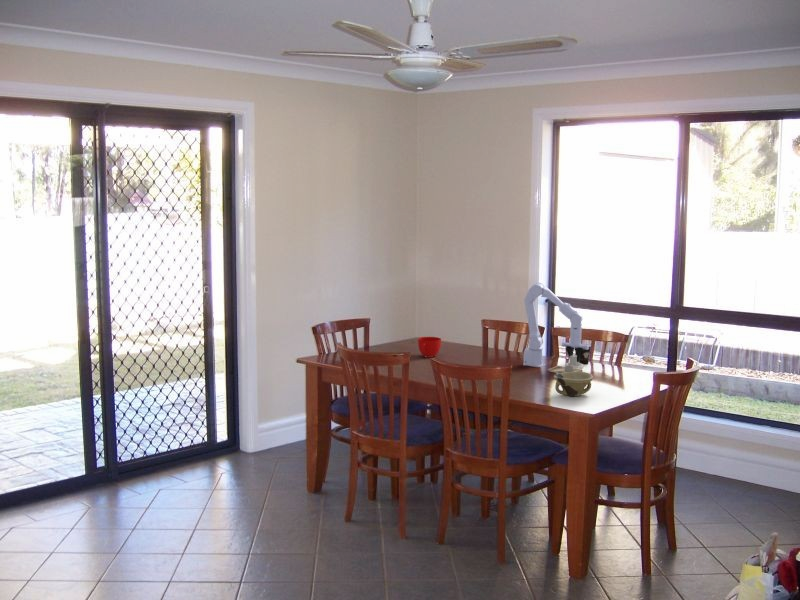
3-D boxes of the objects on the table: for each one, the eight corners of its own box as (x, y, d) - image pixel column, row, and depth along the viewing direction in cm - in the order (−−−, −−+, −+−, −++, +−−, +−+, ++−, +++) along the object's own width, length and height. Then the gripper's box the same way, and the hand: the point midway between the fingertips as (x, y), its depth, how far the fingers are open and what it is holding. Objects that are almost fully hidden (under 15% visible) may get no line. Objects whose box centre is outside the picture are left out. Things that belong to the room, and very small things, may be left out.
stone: (564, 373, 409) (565, 365, 409) (566, 372, 413) (566, 364, 412) (572, 374, 408) (573, 366, 407) (574, 372, 411) (574, 365, 410)
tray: (547, 372, 415) (547, 369, 414) (557, 368, 423) (557, 365, 423) (572, 376, 406) (572, 373, 406) (582, 372, 415) (582, 369, 414)
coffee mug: (589, 362, 439) (589, 344, 438) (591, 365, 431) (592, 347, 429) (567, 361, 440) (568, 343, 439) (569, 364, 432) (569, 346, 430)
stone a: (569, 365, 422) (569, 356, 421) (573, 363, 425) (573, 354, 425) (575, 366, 420) (575, 357, 419) (579, 364, 423) (579, 355, 422)
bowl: (586, 389, 379) (587, 370, 378) (596, 400, 361) (597, 379, 360) (549, 390, 378) (550, 370, 377) (558, 400, 361) (558, 379, 359)
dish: (562, 368, 422) (562, 364, 422) (570, 365, 429) (570, 361, 429) (578, 371, 417) (578, 367, 416) (586, 368, 424) (586, 364, 424)
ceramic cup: (411, 359, 444) (411, 341, 443) (422, 353, 460) (422, 336, 458) (433, 361, 439) (434, 343, 438) (444, 355, 455) (444, 337, 454)
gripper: (559, 335, 422) (558, 360, 424) (585, 338, 413) (584, 364, 415) (565, 333, 427) (564, 358, 429) (591, 336, 419) (590, 362, 420)
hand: (574, 361), depth 423 cm, fingers closed on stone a, 3 cm apart
